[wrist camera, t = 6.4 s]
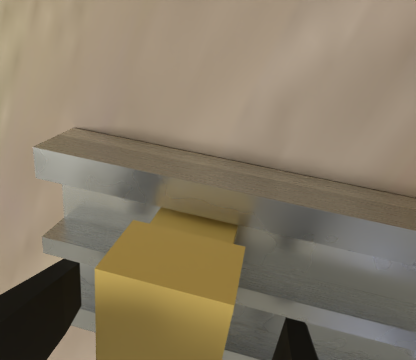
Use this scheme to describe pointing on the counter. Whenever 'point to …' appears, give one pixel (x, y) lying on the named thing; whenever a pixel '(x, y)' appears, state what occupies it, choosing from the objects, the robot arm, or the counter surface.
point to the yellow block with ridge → (168, 289)
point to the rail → (250, 241)
